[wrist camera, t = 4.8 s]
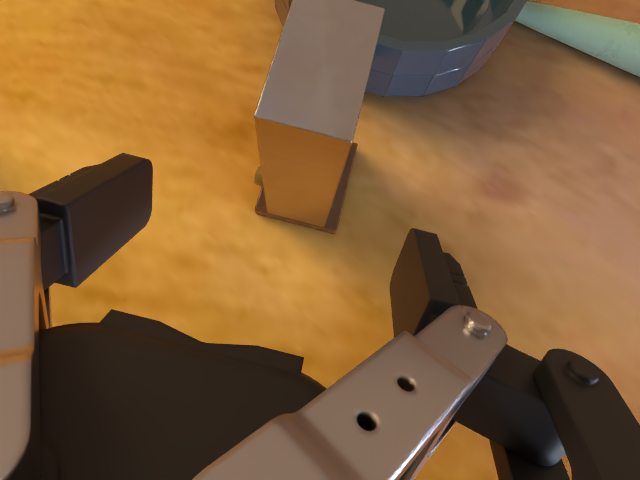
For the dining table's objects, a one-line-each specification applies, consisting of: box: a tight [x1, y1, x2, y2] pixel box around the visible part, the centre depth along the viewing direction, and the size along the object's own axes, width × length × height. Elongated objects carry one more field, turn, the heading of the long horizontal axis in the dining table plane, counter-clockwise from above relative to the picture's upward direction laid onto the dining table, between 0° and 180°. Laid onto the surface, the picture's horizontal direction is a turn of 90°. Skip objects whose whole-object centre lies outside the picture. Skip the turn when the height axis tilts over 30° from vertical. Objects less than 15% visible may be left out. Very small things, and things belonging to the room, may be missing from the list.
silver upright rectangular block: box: [254, 0, 385, 234], centre depth 19 cm, size 6×5×11 cm
